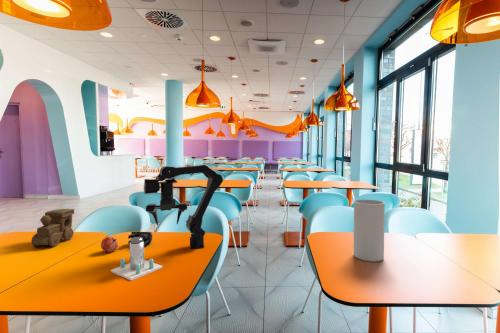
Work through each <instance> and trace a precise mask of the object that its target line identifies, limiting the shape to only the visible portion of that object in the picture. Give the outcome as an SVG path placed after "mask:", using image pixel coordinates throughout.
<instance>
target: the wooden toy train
mask: <svg viewBox="0 0 500 333" xmlns="http://www.w3.org/2000/svg"><path fill="white" fill-rule="evenodd" d="M74 214H75V209H73V208H57V209H53V210H49V211H48V210H47V211H46V212H44V215H42V216H41V218H40V219H39V220H40V222H41V224H42V225H43V226H39V227H37V228H36V233H35V234H34V235H33V236H32V237H31V240H30V241H31V246H32V247H34V248H37V247H40V246H48V245H49V247H52V248H55V247H57V246H58V245H59V244H60V241H61V240H62V239H63V240H64V241H67V242H68V241H70V240H72V238H73V236H74V229H73V228H72V227H73V226H72V225H73V215H74Z"/></svg>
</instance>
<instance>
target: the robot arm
mask: <svg viewBox="0 0 500 333" xmlns="http://www.w3.org/2000/svg"><path fill="white" fill-rule="evenodd" d="M201 173H202V174H203V176H205V177H206V178H207V181H206V182H207V183H206V188H205V191H204V192H203V195H202V197H201V199H200V201H199V203H198V205H197V208H196V210H195V211H194V213H193V214H192V215H191V214H189V215H188V218H187V220H186V221H185V227H186V229H187V230H188V231H189V232H190V237H189V247H190V249H204V248H205V244H204V243H205V238H204V237H205V235H206V231H205V230H204V228H202V225H203V218H204V216H205V213H206V211H207V208H208V207H209V205H210V202H211V200H212V198H213V196H214V194H215V192H216V191H217V190H218V189H219V188H220V187H221V185H222V183H223V182H224V176H223V175H222V174H221V173H217V172H216V171H214V169H212V168H211V167H209V166H208V165H207V164H199V165H188V166H169V165H168V166H167V165H164V166H162V167H161V168H160V169H159V174H158V175H157V176H156V178H154V179H153V178H145V179H144V182H143V194H144V195H149V194H158V193H159V192H160V201H159V204H158V205H157V203H148V204H147V205H146V206H145V212H148V213H149V214H151V215H152V216H153V219H154V221H155V223H156V226H159V216H158V210H160V211H161V212H163V211H172V209H178V210H177V218H176V225H178V224H179V221H180V218H181V215H182V213H183V212H185V211H187V210H188V203H187V202H178V204H177V203H176V202H177V200H176V199H175V198H174V184H175V183H176V184H177V183H178V181H177V180H176V179H175V178H176V177H179V176H182V175H191V174H192V175H193V174H201Z"/></svg>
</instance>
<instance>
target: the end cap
mask: <svg viewBox="0 0 500 333" xmlns="http://www.w3.org/2000/svg"><path fill="white" fill-rule="evenodd" d="M130 233H131V234H129V235H128V236H127V237H128V238H127V239H128V241H127V242H128V243H127V244H128V248H130V242H131V238H134V237H143V241H144V249H145V248H147V247H148V246H150V245H151V243H152V242H153V233H152V232H151V231H131V232H130ZM129 239H130V240H129Z"/></svg>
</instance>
